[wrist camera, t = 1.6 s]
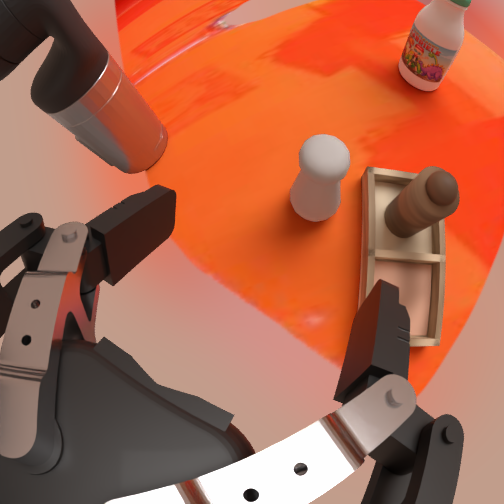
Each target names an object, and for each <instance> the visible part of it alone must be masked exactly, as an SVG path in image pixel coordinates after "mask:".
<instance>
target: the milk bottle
mask: <svg viewBox="0 0 504 504" xmlns="http://www.w3.org/2000/svg"><path fill="white" fill-rule="evenodd" d="M470 3H471V0H433V1H432V2H431V3H430V4H428V5H427V6H425V7H424V8H423V9H422V10H421V11H420V12H419V13H418V15H417V17H416V19H415V21H414V23H413V26H412V29H411V31H410V34H409V37H408V39H407V42H406V45H405V48H404V50H403V53H402V56H401V58H400V61H399V65H398V67H399V71H400V74H401V75H402V77H403V78H404V79H405V80H406V81H407V82H408V83H409V84H411V85H412V86H414V87H416V88H418V89H420V90H423V91H433V90H435V89H437V88H438V87H439V85H440V83H441V82H442V80H443V79H444V77H445V75H446V73H447V72H448V70H449V68H450V66H451V65H452V63H453V61H454V59H455V57H456V56H457V54H458V52H459V50H460V48H461V46H462V43H463V39H464V24H463V17H464V11H465V10H467V9H468V6H469V5H470Z"/></svg>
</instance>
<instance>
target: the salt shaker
mask: <svg viewBox="0 0 504 504" xmlns="http://www.w3.org/2000/svg"><path fill="white" fill-rule="evenodd" d="M299 166H300V168H301V171H300V173H299V175H298V176H297V178H296V180H295V182H294V184H293V185H292V187H291V189H290V202H291V204H292V206H293V208H294V210H295V212H296V213H297V214H299V215H300V216H301V217H302V218H304V219H306V220H310V221H314V222H318V221H322V220H327V219H328V218H329V217H331V216H332V215H333V214H335V213H336V211H337V209H338V207H339V205H340V203H341V200H340V180H342V179H343V178H344V177H345V175H346V173H347V171H348V169H349V167H350V154H349V150H348V149H347V147H346V146H345V144H344V143H343V142H342V141H340V140H339V139H338V138H336V137H335V136H331V135H326V134H320V135H313V136H312V137H310V138H309V139H307V140H306V141H305V142H304V144H303V146H302V147H301V149H300V151H299Z"/></svg>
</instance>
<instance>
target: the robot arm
mask: <svg viewBox="0 0 504 504" xmlns="http://www.w3.org/2000/svg"><path fill="white" fill-rule="evenodd" d="M49 36H52V37H54V42H53V44H52V47H51V49H50V51H49V53H48V55H47V57H46V59H45V60H44V62H43V64H42V65H41V67H40V68H39V70H38V72H37V74H36V76H35V78H34V80H33V83H32V87H31V99H32V101H33V102H34V103H35V105H37V106H38V107H39V108H40V109H42V110H43V111H44V112H46V113H47V114H48V115H49V116H51V117H52V118H53V119H55V120H56V121H57V122H58V123H60V124H61V125H63V126H64V127H65V128H66V129H68V130H69V131H70V132H72V133H73V134H74V135H75V138H76V140H77V141H79V142H80V143H81V144H83V145H84V146H85V147H87V148H88V149H89V150H91V151H92V152H93V153H95V154H96V155H97V156H99V157H100V158H101V159H103V160H104V161H105V162H107V163H108V164H109V165H111V166H115V167H117V168H118V169H119V170H121V171H123V172H124V173H129V174H132V173H139V172H142V171H144V170H146V169H148V168H149V167H151V166H152V165H153V164H154V163H155V162H156V161H157V160H158V159H159V158H160V157H161V155H162V153H163V152H164V150H165V147H166V144H167V138H168V137H167V131H166V129H165V127H164V126H163V124H162V123H161V122H160V120H159V119H158V118H157V116H156V115H155V113H154V112H153V111H152V109H151V108H150V107H149V105H148V104H147V103H146V101H145V100H144V99H143V97H142V96H141V95H140V93H139V92H138V91H137V89H136V88H135V87H134V85H133V84H132V83H131V81H130V80H129V79H128V77H127V76H126V75H125V73H124V72H123V71H122V69H121V68H120V67H119V66H118V64H117V63H116V62H115V60H114V59H113V58H112V56H111V55H110V54H109V52H108V51H107V50H106V49H105V47H104V46H103V45H102V43H101V42H100V41H99V40H98V39H97V37H96V36H95V35H94V34H93V32H92V31H91V30H90V28H89V27H88V26H87V25H86V23H85V22H84V21H83V19H82V18H81V16H80V15H79V13H78V12H77V10H76V9H75V7H74V5H73V4H72V2H71V1H70V0H0V81H1V80H3V79H4V78H5V77H6V76H8V75H9V74H10V73H11V72H12V71H13V70H14V69H15V68H16V67H17V66H18V65H19V64H20V63H21V62H22V61H23V60H24V59H25V58H26V57H27V56H28V55H29V54H30V53H31V52H32V51H33V50H34V49H35V48H36V47H38V46H39V45H40V44H41V43H42V42H43V41H44V40H45V39H46V38H48V37H49ZM175 209H176V192H175V191H174V190H171V189H169V188H166V187H164V186H161V185H155V186H153V187H151V188H150V189H148V190H146V191H145V192H141V193H137V194H134V195H131V196H129V197H127V198H126V199H124V200H122V201H121V203H118V204H116V205H114V206H113V208H110V209H108V210H106V211H105V212H103V213H102V214H100V215H99V216H97V217H96V218H94V219H93V220H91V221H90V222H88V223H87V224H85V225H84V224H83V223H80V222H69V223H65V224H63V225H61V226H59V227H58V228H56V229H53V228H49V227H45V226H44V222H43V218H42V216H41V215H40V214H38V213H28V214H25V215H23V216H21V217H19V218H18V219H16V220H15V221H14V222H12V223H11V224H9V225H8V226H7V227H5V228H4V229H3V230H1V231H0V275H1V273H2V272H3V270H4V269H5V268H7V267H8V266H9V265H10V264H11V263H12V262H14V261H15V260H16V259H17V258H18V257H19V256H21V258H22V261H23V263H24V266H25V268H24V269H23V270H22V271H21V272H20V273H19V274H18V275H17V276H15V277H14V278H13V279H12V280H11V281H10V282H9V283H8V284H7V285H6V286H5V287H2V286H1V283H0V338H1V336H2V335H3V334H4V333H5V335H4V339H3V343H2V347H1V352H0V504H307V503H309V502H311V501H312V500H314V499H315V498H317V497H318V496H320V495H322V494H323V493H325V492H326V491H327V490H329V489H331V488H332V487H333V486H335V485H336V484H338V483H339V482H340V481H342V480H343V479H345V477H347V476H349V475H350V474H351V473H352V472H354V471H355V470H356V469H358V468H359V467H360V466H361V465H362V464H363V463H364V458H365V457H366V456H367V455H369V456H370V457H371V458H373V459H374V460H376V463H375V466H374V469H373V472H372V475H371V478H370V481H369V484H368V486H367V489H366V492H365V494H364V497H363V500H362V502H361V504H452V503H453V499H454V495H455V490H456V486H457V481H458V476H459V470H460V464H461V457H462V450H463V441H464V433H463V429H462V426H461V424H460V423H459V421H458V420H457V419H456V418H455V417H453V416H452V415H448V414H445V415H442V416H440V417H438V418H436V419H434V418H433V417H431V416H430V415H429V414H427V413H426V412H425V411H423V410H422V409H421V408H420V407H418V406H417V405H416V394H415V391H414V389H413V387H412V385H411V384H410V383H409V382H408V368H409V352H410V344H409V342H410V317H409V314H408V312H407V309H406V306H404V305H401V304H399V287H397V286H395V285H393V284H391V283H388V282H386V281H384V280H382V279H379V280H378V281H377V282H376V284H375V285H374V287H373V288H372V290H371V291H370V293H369V294H368V296H367V297H366V299H365V300H364V302H363V303H362V305H361V306H360V308H359V310H358V311H357V314H356V316H355V318H354V321H353V325H352V329H351V334H350V338H349V342H348V347H347V351H346V355H345V359H344V363H343V367H342V370H341V374H340V378H339V381H338V385H337V389H336V392H335V395H334V399H333V400H335V401H338V402H341V403H343V404H342V407H341V408H339V409H338V410H336V411H335V412H333V413H330V414H328V415H326V416H325V417H323V418H321V419H320V420H318V421H316V422H315V423H313V424H311V425H310V426H308V427H306V428H305V429H303V430H301V431H299V432H298V433H296V434H294V435H293V436H290V437H288V438H286V439H285V440H283V441H281V442H279V443H277V444H275V445H273V446H271V447H269V448H267V449H265V450H263V451H261V452H259V453H257V454H256V453H255V451H254V449H253V447H252V446H251V444H250V442H249V441H248V440H247V438H246V437H245V436H244V435H243V434H242V433H241V432H240V431H239V429H238V428H236V427H235V426H234V425H233V424H231V423H230V422H231V420H232V418H233V416H234V415H233V414H231V413H229V412H227V411H225V410H223V409H221V408H219V407H217V406H215V405H213V404H211V403H209V402H207V401H205V400H203V399H201V398H200V397H197V396H194V395H190V394H187V393H183V392H180V391H176V390H173V389H170V388H167V387H164V386H161V385H159V384H157V383H156V382H154V381H153V380H152V378H150V376H148V374H147V373H146V372H145V371H144V370H143V369H142V368H141V367H140V365H139V364H138V363H137V362H136V361H135V360H134V359H133V358H132V356H131V355H129V354H128V353H126V352H125V351H123V350H122V349H121V348H119V347H118V346H116V345H115V344H113V343H112V342H111V341H109V340H108V339H107V338H105V337H103V338H102V339H101V341H99V343H96V338H95V320H96V312H97V304H98V298H99V291H100V286H99V283H100V282H101V281H102V280H105V281H106V282H108V283H109V284H110V285H112V286H114V285H115V284H116V283H117V282H118V281H120V280H121V279H122V278H123V277H124V276H125V275H126V274H127V273H128V272H130V271H131V270H132V269H133V268H134V267H135V266H136V265H137V264H139V263H140V262H141V261H142V260H143V259H144V258H145V257H147V256H148V255H149V254H150V253H151V252H152V251H154V250H155V249H156V248H157V247H158V246H159V245H161V244H162V243H163V242H164V241H165V240H166V239H168V238H169V236H170V235H171V233H172V231H173V229H174V225H175Z"/></svg>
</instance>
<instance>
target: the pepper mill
mask: <svg viewBox="0 0 504 504" xmlns="http://www.w3.org/2000/svg"><path fill="white" fill-rule="evenodd" d="M458 204H459V191H458V185H457V182H456V180H455V178H454V177H453V176H452V175H451V174H450V173H448V172H446V171H445V170H443V169H441V168H439V167H434V166H430V167H427V168H425V169H423V170H422V171H421V172H420V173H419V174H418V175H417V176H416V177H415V178H414V179H413V180H412V181H411V182H410V183H409V184H408V185H407V186H406V187H405V188H404V189H403V190H402V191H401V192H400V193H399V194H398V195H397V196H396V197H395V198H394V199H393V200H392V201H391V202H390V203H389V205H388V206H387V207H386V210H385V214H384V218H385V223H386V225H387V227H388V229H389V230H390V232H391V233H392V234H394V235H395V236H397V237H400V238H408V237H411V236H413V235H415V234H416V233H418V232H420V231H422V230H424V229H426V228H428V227H429V226H431V225H433V224H435V223H437V222H439V221H440V220H442V219H444V218H446V217H447V216H449V215H451V214H452V213H454V212H455V211H456V209H457V207H458Z"/></svg>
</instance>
